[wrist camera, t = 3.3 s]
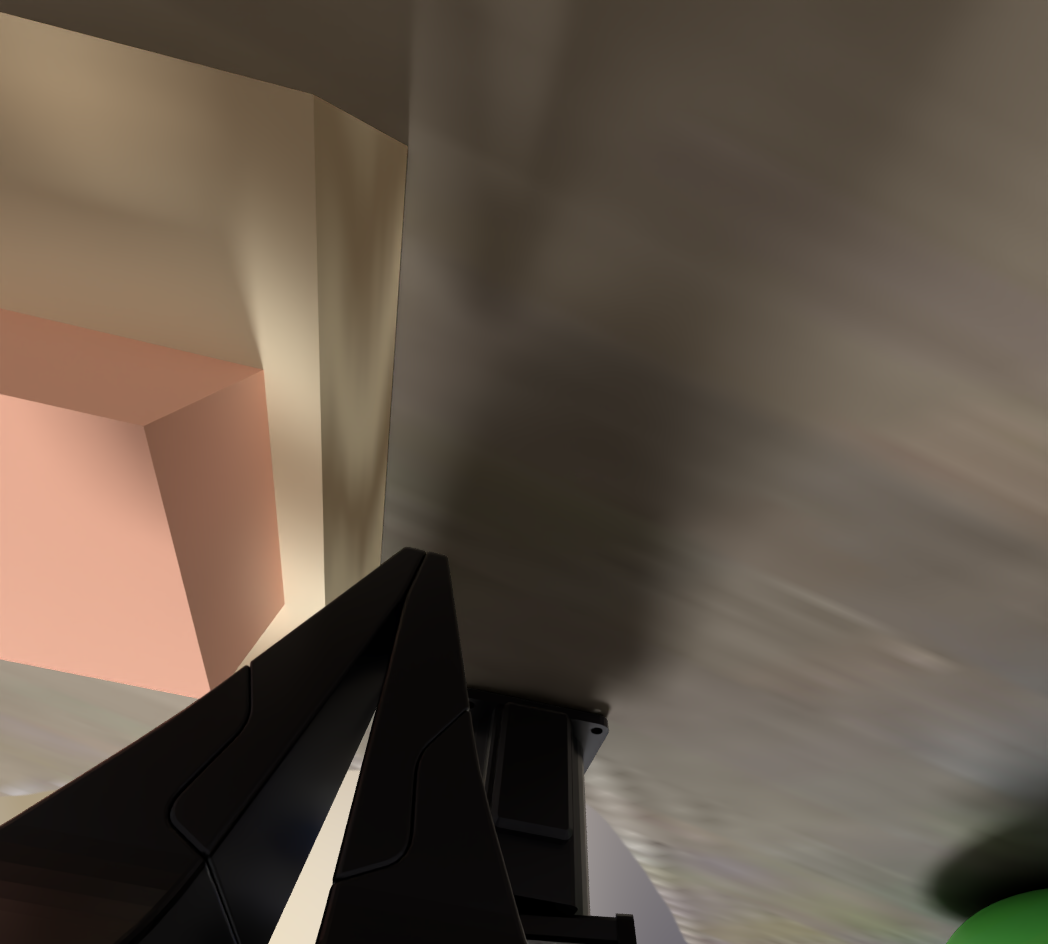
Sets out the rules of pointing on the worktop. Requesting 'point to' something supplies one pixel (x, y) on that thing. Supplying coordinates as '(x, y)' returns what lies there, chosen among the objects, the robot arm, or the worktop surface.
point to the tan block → (219, 259)
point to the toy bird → (1008, 922)
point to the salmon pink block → (132, 508)
